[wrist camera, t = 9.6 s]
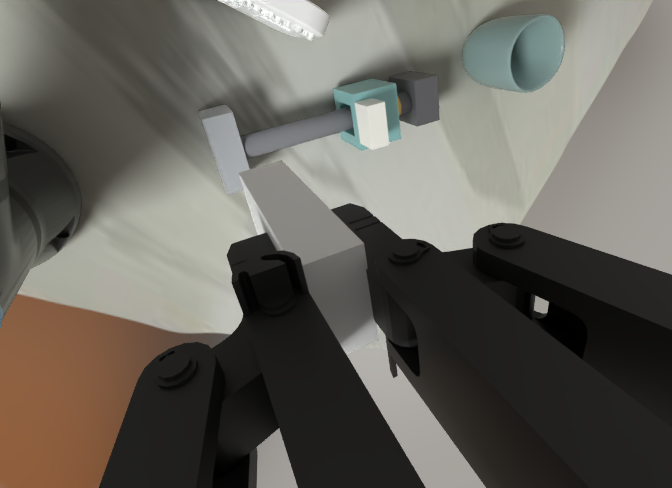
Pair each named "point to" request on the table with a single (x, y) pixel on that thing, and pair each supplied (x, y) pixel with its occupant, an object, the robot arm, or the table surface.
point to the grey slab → (225, 145)
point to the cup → (515, 52)
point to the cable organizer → (286, 15)
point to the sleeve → (370, 113)
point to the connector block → (419, 96)
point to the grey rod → (307, 129)
